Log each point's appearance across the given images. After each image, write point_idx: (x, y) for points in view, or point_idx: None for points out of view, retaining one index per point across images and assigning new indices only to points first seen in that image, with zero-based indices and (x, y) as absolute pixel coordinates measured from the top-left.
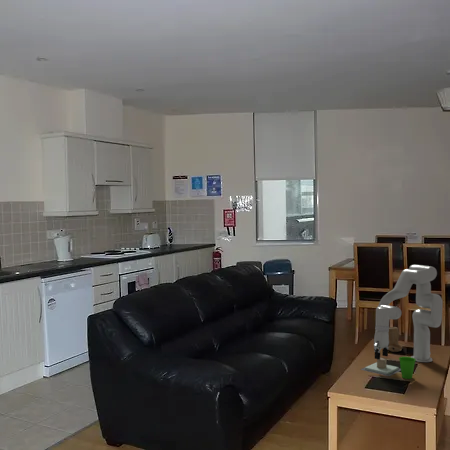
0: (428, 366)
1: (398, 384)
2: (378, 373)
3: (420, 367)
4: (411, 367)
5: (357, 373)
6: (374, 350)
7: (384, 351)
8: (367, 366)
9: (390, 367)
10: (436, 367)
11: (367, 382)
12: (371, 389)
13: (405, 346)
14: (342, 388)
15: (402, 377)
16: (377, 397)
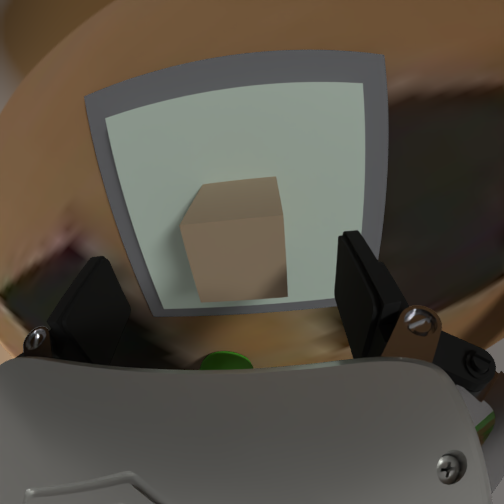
0: (483, 322)
1: (122, 365)
2: (129, 249)
3: (461, 315)
4: None
5: (35, 143)
6: (23, 344)
7: (355, 310)
8: (146, 108)
9: (303, 264)
10: (476, 342)
11: (18, 276)
12: (11, 317)
13: None
14: None
15: (203, 361)
16: (11, 347)
